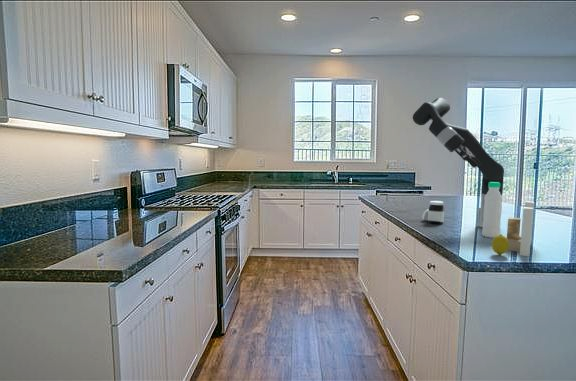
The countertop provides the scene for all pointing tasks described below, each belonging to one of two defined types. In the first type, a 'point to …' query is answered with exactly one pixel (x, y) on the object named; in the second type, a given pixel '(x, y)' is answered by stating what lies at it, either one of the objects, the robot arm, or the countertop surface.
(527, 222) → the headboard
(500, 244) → the lemon
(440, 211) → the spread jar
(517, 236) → the tan wooden block
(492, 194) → the water bottle
